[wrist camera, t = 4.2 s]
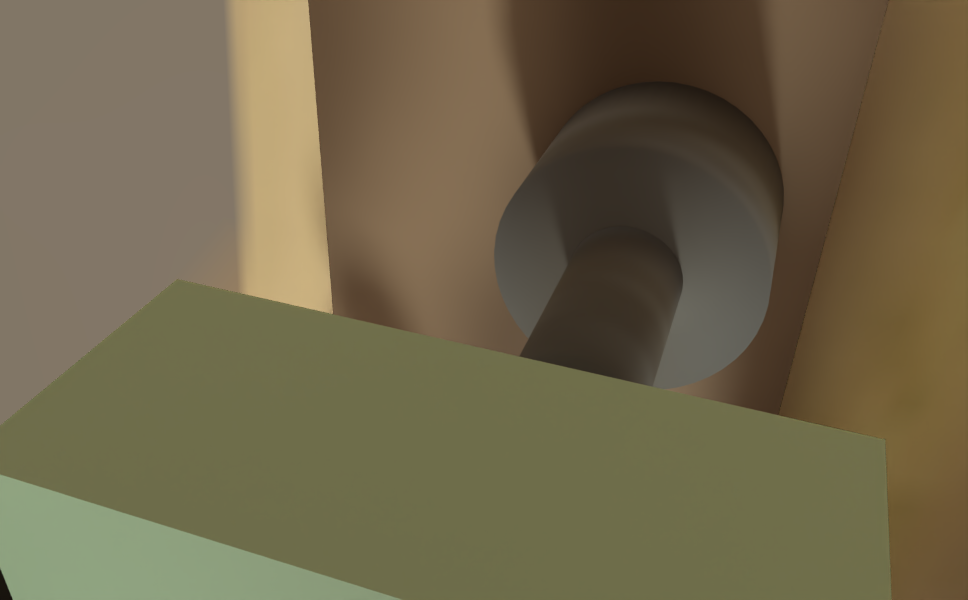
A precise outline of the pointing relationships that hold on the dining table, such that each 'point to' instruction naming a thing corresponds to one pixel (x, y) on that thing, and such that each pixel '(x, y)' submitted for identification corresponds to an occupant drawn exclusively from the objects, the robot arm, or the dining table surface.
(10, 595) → the robot arm
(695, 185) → the stand
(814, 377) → the dining table surface
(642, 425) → the collar
